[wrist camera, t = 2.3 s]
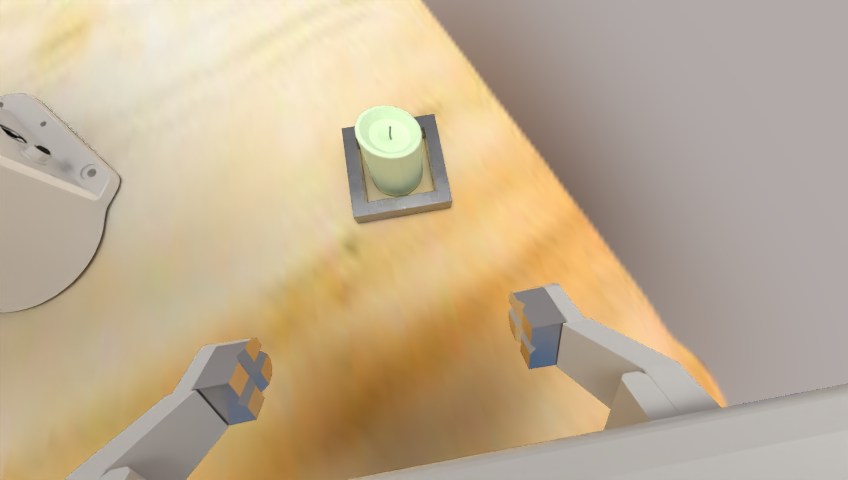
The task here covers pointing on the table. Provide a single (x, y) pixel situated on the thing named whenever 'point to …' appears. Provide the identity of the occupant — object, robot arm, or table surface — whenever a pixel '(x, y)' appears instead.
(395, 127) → the candle
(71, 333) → the table surface
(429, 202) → the holder collar
